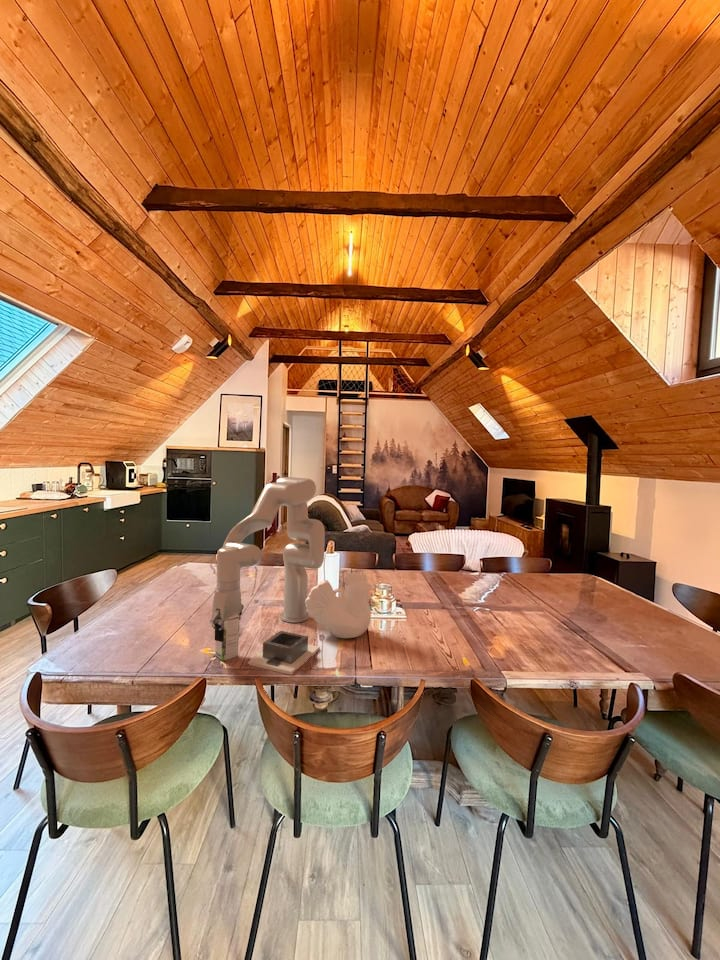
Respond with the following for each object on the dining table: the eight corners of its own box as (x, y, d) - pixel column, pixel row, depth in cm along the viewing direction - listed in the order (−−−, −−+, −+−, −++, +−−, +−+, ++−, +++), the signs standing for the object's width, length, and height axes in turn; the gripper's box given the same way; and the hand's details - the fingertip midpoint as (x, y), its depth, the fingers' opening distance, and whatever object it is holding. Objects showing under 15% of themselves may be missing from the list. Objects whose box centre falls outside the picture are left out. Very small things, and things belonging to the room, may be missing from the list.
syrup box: (214, 655, 148) (215, 613, 147) (230, 650, 152) (231, 609, 151) (222, 661, 144) (223, 618, 143) (238, 656, 148) (239, 614, 147)
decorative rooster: (372, 628, 177) (374, 567, 175) (367, 645, 161) (369, 578, 160) (312, 622, 180) (314, 563, 179) (301, 638, 165) (303, 573, 163)
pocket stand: (280, 641, 161) (281, 625, 161) (319, 649, 156) (320, 633, 155) (248, 664, 143) (248, 646, 142) (291, 675, 137) (291, 656, 137)
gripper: (235, 576, 156) (234, 625, 157) (201, 590, 140) (200, 644, 141) (253, 579, 154) (251, 629, 155) (220, 593, 137) (219, 648, 138)
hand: (227, 635), depth 148 cm, fingers closed on syrup box, 7 cm apart
